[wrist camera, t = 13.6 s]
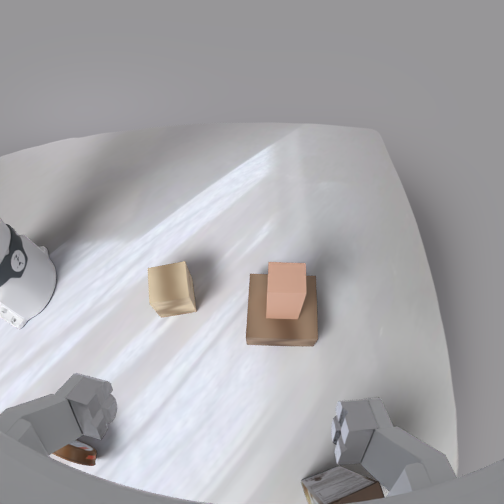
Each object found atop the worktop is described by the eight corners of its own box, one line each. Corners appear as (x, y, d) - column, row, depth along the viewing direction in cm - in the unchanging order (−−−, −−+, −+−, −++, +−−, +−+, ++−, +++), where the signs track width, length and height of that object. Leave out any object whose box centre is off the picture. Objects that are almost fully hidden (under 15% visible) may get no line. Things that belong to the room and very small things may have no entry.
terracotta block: (266, 318, 43) (267, 292, 35) (267, 292, 45) (268, 262, 37) (297, 319, 42) (306, 293, 35) (297, 293, 45) (305, 263, 37)
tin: (35, 433, 35) (4, 428, 28) (38, 417, 36) (7, 411, 29) (104, 465, 34) (76, 469, 26) (107, 448, 35) (79, 450, 28)
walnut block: (247, 344, 45) (245, 337, 41) (250, 285, 50) (250, 273, 46) (313, 346, 44) (317, 339, 41) (311, 287, 49) (315, 275, 46)
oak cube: (161, 317, 47) (149, 303, 42) (158, 285, 50) (147, 268, 45) (196, 311, 48) (189, 296, 43) (192, 279, 51) (185, 261, 46)
